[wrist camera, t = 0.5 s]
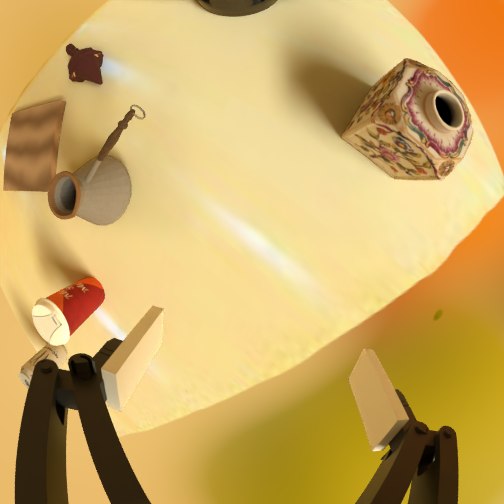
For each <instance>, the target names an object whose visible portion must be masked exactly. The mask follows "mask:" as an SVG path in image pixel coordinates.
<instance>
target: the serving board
mask: <svg viewBox="0 0 504 504" xmlns="http://www.w3.org/2000/svg"><path fill="white" fill-rule="evenodd" d="M65 105H66V102H65V101H62V100H58V101H54V102H50V103H46V104H42V105H39V106H35V107H31V108H28V109H25V110H22V111H18V112H15V113H12V117H11V122H10V128H9V134H8V141H7V149H6V158H5V169H4V188H3V191H43V192H48V191H49V186H50V183H51V181H52V180H53V178H54V177H55V176H56V164H57V154H58V146H59V139H60V132H61V126H62V120H63V115H64V110H65Z"/></svg>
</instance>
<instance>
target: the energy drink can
mask: <svg viewBox="0 0 504 504" xmlns="http://www.w3.org/2000/svg"><path fill="white" fill-rule="evenodd" d="M43 359H50V360H53V361H54V362H56V364H57V365H58V368H59V367H60V366H61V365H62V364H63V363H64V362H65V361H66V359H67V350H66V348H65V347H64V345H63V344H62V345H58V346H55V345H51V344H50V343H48V344H47V345H46V346H45V347H43V348H42V349H41V350H40V351H39V352H38V353H37V354H35V355H34V356H33V357H32V358H31V359H30V360H29V361H28V362H27V363H25V364H24V365H23V366H22V368H21V372H20V373H19V377H20V379H21V381H22V382H23V383H24V385H25V386H26V387H27V388H28V389H29V385H30V381H31V377H32V374H33V370H34V367H35V365H36V363H37V362H38V361H40V360H43Z"/></svg>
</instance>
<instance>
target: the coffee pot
mask: <svg viewBox="0 0 504 504" xmlns="http://www.w3.org/2000/svg"><path fill="white" fill-rule="evenodd" d="M133 106H135V107H138V108H139V109H140V110H141V111H142V112H143V114H144V117H143V118H141V117H138V116H137V115H136V114H135V110H133V109H132V107H133ZM133 116H135V117H137V118H138V119H144V118H145V112H144V110H143V109H142V108H141V107H139V106H138V105H132V106H131V108H130V111H129V112H128V113H127V114H126V115H125V118H124V119H123V120H122V121H119V122H118V127H117V128H116V129H115V130H114V131H113V132H112V133H111V134H110V136H109V137H108V139H107V141H106V142H105V144H104V146H103V148H102V150H101V152H100V153H99V155H98V157H96V158H94V159H92V160H90V161H89V162H87V163H86V164H85V165H83V166H82V167H81V168H79V169H78V170H77V171H75V172H74V173H73V174H71V173H70V172H67V171H64V172H60V173H58V174H57V175H56V176H55V177H54V178H53V180H52V181H51V183H50V186H49V191H48V202H49V206H50V208H51V211H52V212H53V214H54V215H55V216H56V217H58V218H60V219H70V218H73V217H75V216H78V217H80V218H82V219H84V220H87V221H89V222H91V223H93V224H96V225H108V224H112V223H114V222H115V221H116V220H118V219H119V218H120V217H121V216H122V215H123V213H124V212H125V210H126V208H127V206H128V204H129V202H130V197H131V181H130V177H129V174H128V172H127V170H126V168H125V167H124V166H123V165H122V163H121V162H120V161H118V160H117V159H115V158H113V157H109V156H106V155H107V154H108V153H109V151H110V150H111V149H112V147H113V146H114V145H115V144H116V142H117V141H118V139H119V137H120V135H121V133H122V131H123V129H126V128H127V127H128V124H127V123H128V122H129V121H130V120H131V119H132V117H133Z"/></svg>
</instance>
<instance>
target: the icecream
mask: <svg viewBox="0 0 504 504" xmlns="http://www.w3.org/2000/svg"><path fill="white" fill-rule="evenodd" d="M66 52H67V54H68V55H70V56H72V57H71V59H70V61H69V63H68V69H69V74H70V75H69V79H71V80H72V81H77V82H83V81H85V80H88V81H91V82H94V83H97V84H100V85H101V84H102V83H103V82H102V76H101V71H100V67H101V66H102V61H103V54H102V52H101V51H96V50H93V49H92V48H85V49H81V50H79V49H78V48H76V47H75V46H74V45H73V44H69V45H67V47H66Z"/></svg>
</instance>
